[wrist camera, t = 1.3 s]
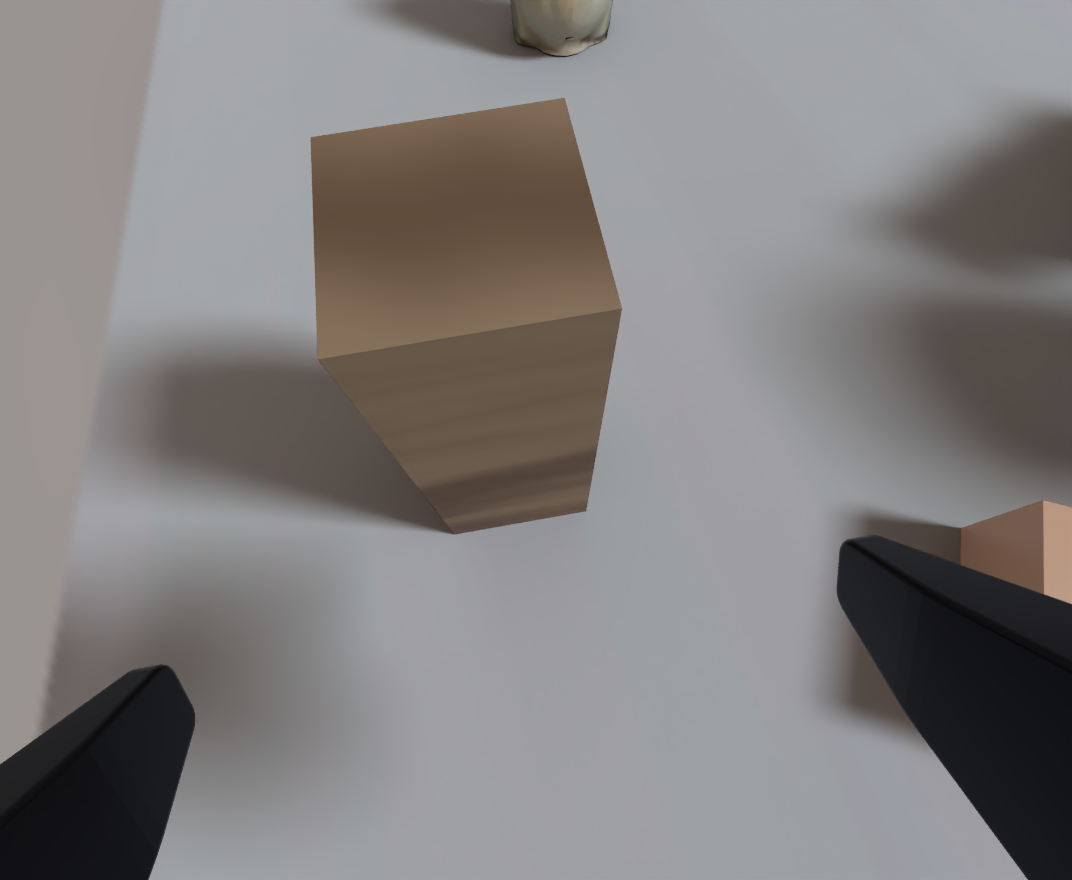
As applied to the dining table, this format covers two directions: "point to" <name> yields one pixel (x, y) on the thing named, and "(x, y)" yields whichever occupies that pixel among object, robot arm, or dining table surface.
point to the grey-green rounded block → (560, 24)
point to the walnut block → (469, 305)
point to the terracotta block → (1024, 548)
